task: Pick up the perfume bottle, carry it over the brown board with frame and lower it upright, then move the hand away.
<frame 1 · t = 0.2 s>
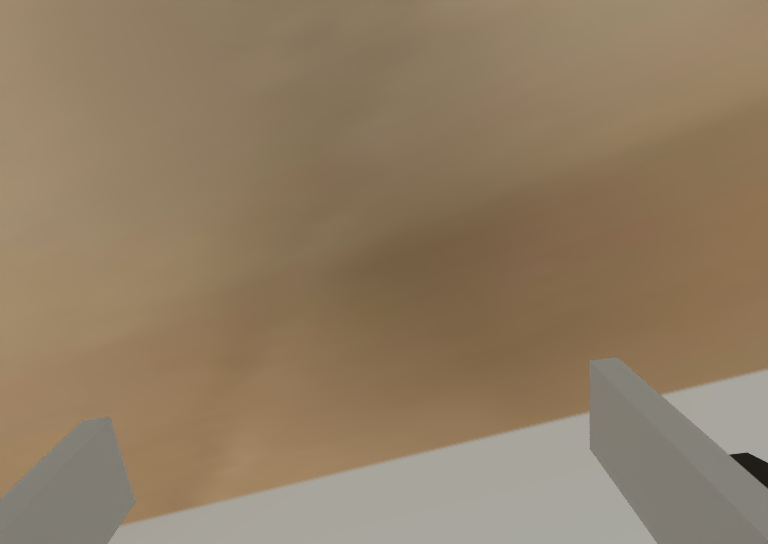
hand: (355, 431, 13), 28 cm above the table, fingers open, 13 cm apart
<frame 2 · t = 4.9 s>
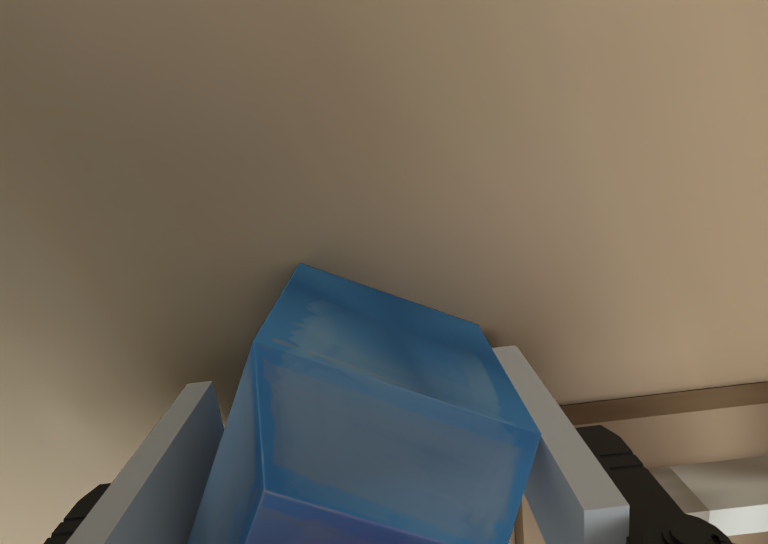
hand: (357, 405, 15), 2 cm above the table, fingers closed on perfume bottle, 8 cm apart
perfume bottle: (359, 373, 17), on the table, touching gripper
when the fingers open (5 cm above the table, at t = 10.4 s): perfume bottle stays where it is, resting on brown board with frame.
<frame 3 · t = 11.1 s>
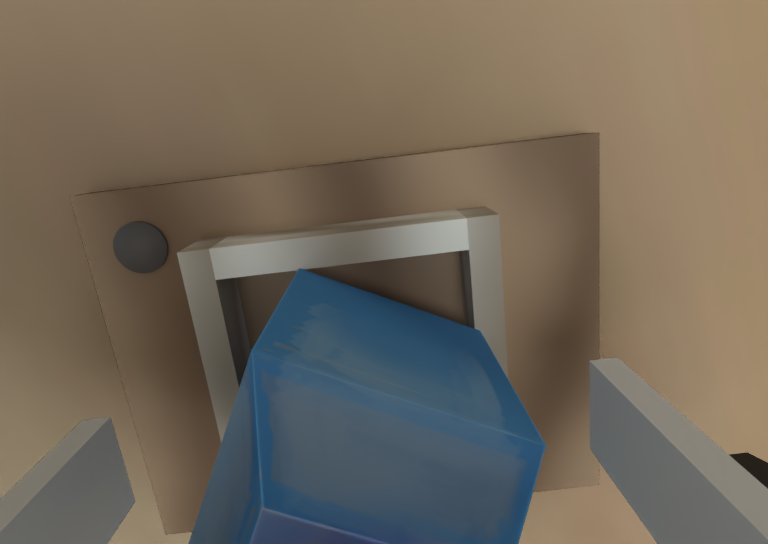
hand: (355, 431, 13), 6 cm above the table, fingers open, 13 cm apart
perfume bottle: (359, 379, 16), point 3 cm above the table, touching brown board with frame
brown board with frame: (360, 341, 19), on the table
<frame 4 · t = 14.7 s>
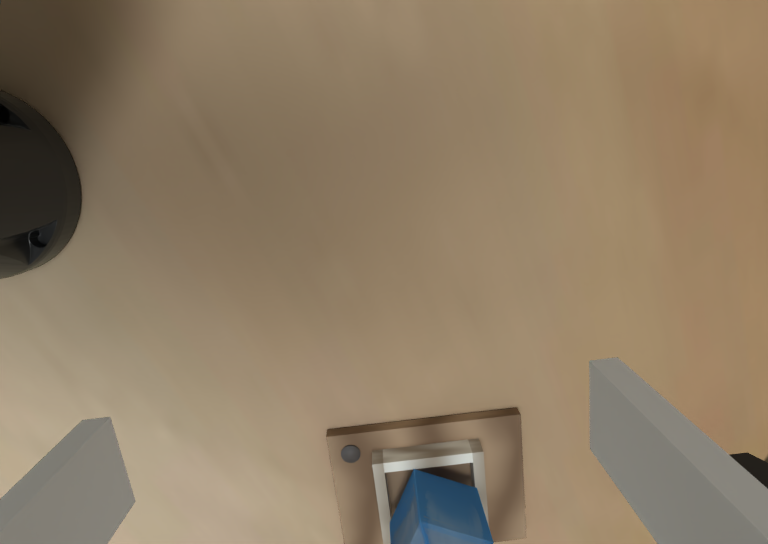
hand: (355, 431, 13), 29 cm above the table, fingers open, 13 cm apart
perfume bottle: (432, 504, 45), point 3 cm above the table, touching brown board with frame
brown board with frame: (428, 481, 47), on the table
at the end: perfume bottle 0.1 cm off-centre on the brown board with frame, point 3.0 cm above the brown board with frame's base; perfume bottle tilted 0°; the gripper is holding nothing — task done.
